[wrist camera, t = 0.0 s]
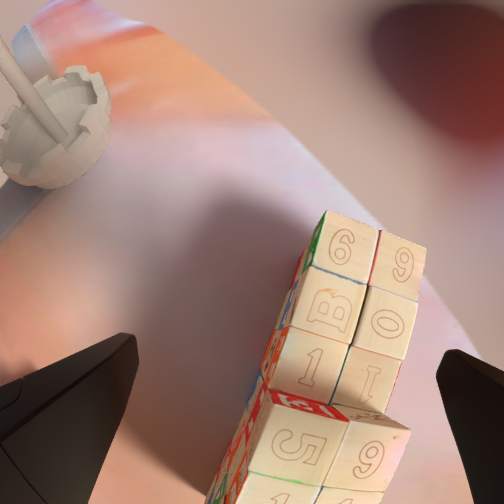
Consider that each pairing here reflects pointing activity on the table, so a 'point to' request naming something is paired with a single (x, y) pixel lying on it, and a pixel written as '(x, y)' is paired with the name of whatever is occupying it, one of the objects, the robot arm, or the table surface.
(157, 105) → the table surface
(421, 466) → the table surface
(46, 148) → the flag stand
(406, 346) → the stack of blocks
